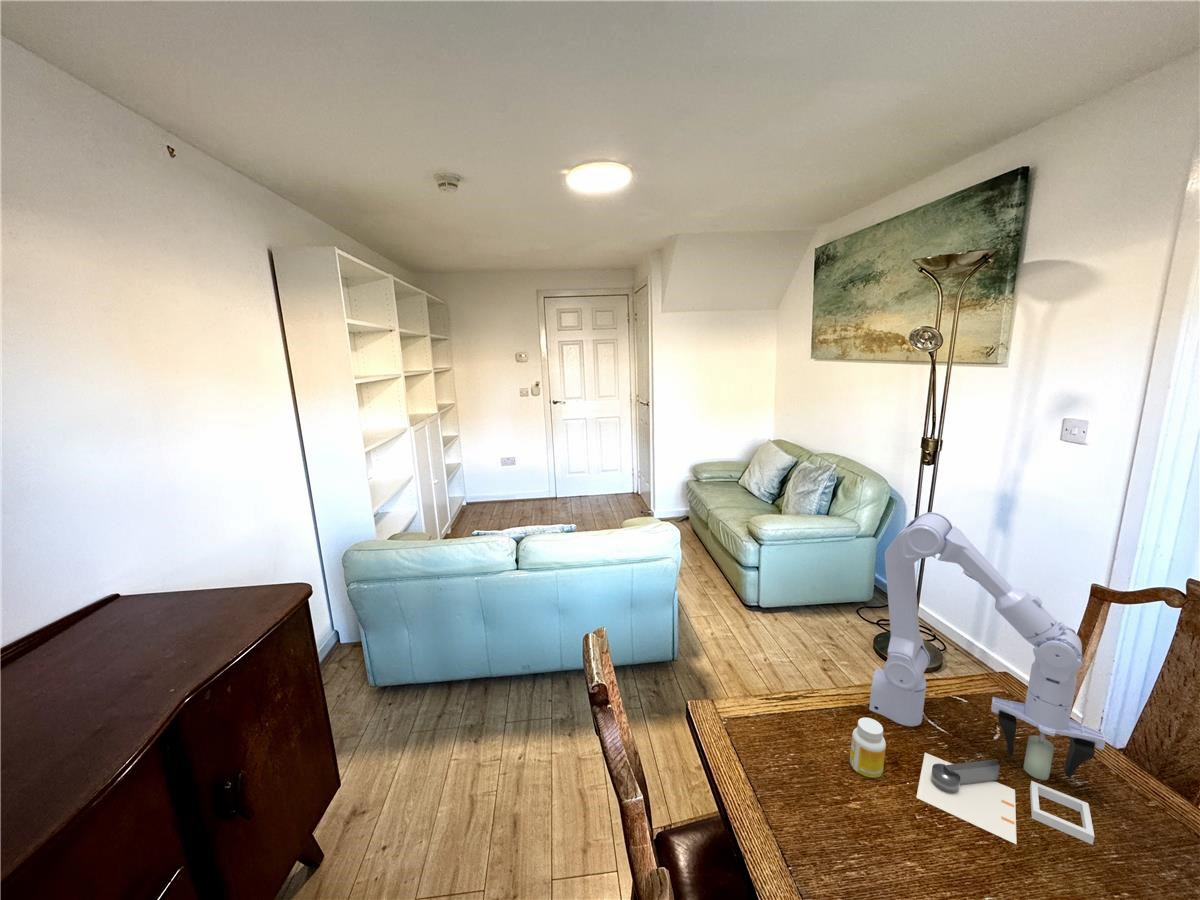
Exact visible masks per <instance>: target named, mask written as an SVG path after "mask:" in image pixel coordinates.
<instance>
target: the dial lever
mask: <svg viewBox="0 0 1200 900" xmlns="http://www.w3.org/2000/svg"><path fill="white" fill-rule="evenodd" d="M1000 766H1001V765H1000V764H999V763H998V762H997V761H996V760H995V759H989V760H979V761H971V762H963V763H952V764H951V765H944V764H934V765H933V766H932V773H931V780H932V782H933V783H934V784H935V785H936V786H937V787H938V788H940V789H941V790H943V791H945V792H949V793H956V792H958V790H959V785H960V784H967V783H975V782H984V781H992V780H993V781H998V779H999V774H1000V773H999V772H1000V768H1001V767H1000Z"/></svg>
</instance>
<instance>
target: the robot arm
mask: <svg viewBox="0 0 1200 900" xmlns="http://www.w3.org/2000/svg"><path fill="white" fill-rule="evenodd" d="M936 555H939V557H938V558H937V561H940V562H945V563H954V564H957V565H959V567H960V568H962V569H963V570H964V571H965V572H966V573H967V574H968V575H969V576H971V578H972V579H974V580H975V582H977V583H978V584H979V585H980V586H981V587H982V588H983V589H985V590H986V591H987V592H988V593H989V594H990V595H991V596H992V597H993V598H994V599H995V603H994V607H995V610H996V611H997V613H999V615H1001V616H1002V618H1004V619H1005V620H1006V621H1007V622H1008V623H1009V625H1010V626H1012V628H1014V629H1015V630H1016V632H1018V634H1020V636H1021V637H1022V638H1023V639H1024V640H1025V641H1027V643H1029V644H1031V645H1032V646H1033V648H1032V652H1033V655H1034V657H1035V658H1034V661H1033V662H1032V664H1031V667H1030V673H1029V679H1028V685H1027V691H1026V697H1025V703H1024V702H1020V701H1019V702H1018V701H1013V700H1006V699H1002V698H999V697H996V696H992V698H991V699H992V700H991V709H990V710H991V712H992V713H994V714H998V723H999V726H1000V728H1001V730H1002V732H1003V736H1004V738H1005V742H1006V750H1007V752H1006V753H1007V755H1009V756H1012V757H1013V755H1014V744H1015V743H1014V742H1015V736H1016V731H1017V719H1018V720H1020V721H1024V722H1025V723H1027V724H1029V725H1031V726H1033V727H1036V728H1037V729H1038V731H1039V733H1040V732H1042V733H1045V734H1046V735H1048V736H1051V737H1055V736H1056V735H1061V736H1067V737H1069V746H1068V752H1067V756H1066V759H1065V762H1064V767H1063V769H1064V775H1065V777H1067V778H1070V779H1071V778H1072V777H1073V775H1074V773H1075V772H1076V770H1077V769H1078V768H1079V767H1080V766H1081V765H1082V764H1084V763H1085V762H1087V761H1088V760H1090V759H1092V758H1094V756H1095V753H1096V750H1095V748H1096V749H1099V750H1102V751H1104V750H1105V746H1106V743H1107V742H1106V741H1107V739H1106V736H1105V733H1104V732H1101V731H1098V730H1097V729H1093V728H1091V727H1089V726H1086V725H1084V724H1082V723H1080V722H1078V721H1076V720H1074V719H1072V718H1071V714H1072V708H1073V704H1074V703H1073V702H1074V698H1075V694H1076V693H1075V692H1076V687H1077V684H1078V683H1077V682H1078V679H1077V675H1078V673H1079V671H1080V669H1081V668H1082V666H1083V665H1084V664H1083V663H1084V662H1083V643H1082V641H1081V638H1080V637H1079V635H1078V634H1077V633H1076V631H1075V629H1074V628H1072V627H1069V626H1068V625H1065V623H1064V622H1062V621H1061V622H1059V621H1057V619H1055V618H1054V616H1052V615H1051V613H1049V611H1048V610H1046V609H1045V608H1044V607H1043V606H1042V605H1043V601H1042V599H1041V598H1040V597H1038V595H1031V594H1030V593H1029V592H1028V591H1027V590H1024V589H1019V588H1015V587H1013V586H1012V585H1011V584H1010V583H1009V582H1008V581H1007V580H1006V579H1005V578H1004V577H1003V575H1001V573H1000V572H999V571H998V570H997V569H996V568H995V567H994V566H993V565H992V564H991V563H990V561H989V560H988V559H987V558H986V557H985V556H984V555H983V554H982V553H981V552H980V551H979V550H978V548H976V547H975V545H974V544H973V543H972V542H971V541H970V540H969V539H968V537H967V535H965V534H964V533H963V531H962V530H961V529H960V528H959V527H957V526H955V525H953V523H952V522H951V521H950V520H949V519H948V518H947V517H946V516H945V515H943V514H941V513H937V512H932V511H930V512H924V513H922V514H920V515H919V516H917V517H915V518H913V519H911V521H910V522H908V524H907V525H906V526H904V527H903V529H902V530H901V531H899V532H898V534H897V536H895V538H894V539H893V540H892V541H891V543H890V545H889V546H888V547H887V548H886V550H885V552H884V565H885V578H886V580H885V581H886V590H887V602H888V604H887V605H888V613H889V614H888V615H889V616H888V617H889V629H890V638H889V643H888V648H887V660H886V661H885V663H884V665H883V669H882V668H877V667H876V668H875V669H874V672H873V677H872V682H871V687H870V689H871V690H870V696H869V706H868V707H869V708H868V709H869V711H870V712H873V713H876V714H879V715H881V716H883V717H885V718H887V719H889V720H891V721H892V722H895V723H897V724H899V725H902V726H906V727H916V726H919V725H921V724H922V722H923V717H924V715H923V714H924V708H925V707H924V706H925V700H926V690H927V684H928V683H927V681H926V678H925V675H924V673H925V671H926V669H927V668H928V666H929V665H930V663H931V658H930V657H931V656H930V653H929V651H928V650H927V648H926V647H925V644H924V638H923V636H922V635H921V633H920V622H919V621H920V620H919V619H920V618H919V607H918V606H919V605H918V595H917V580H916V568H915V563H916V562H918V561H920V560H921V559H927V558H930V557H934V556H936ZM876 707H877V708H876Z"/></svg>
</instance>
